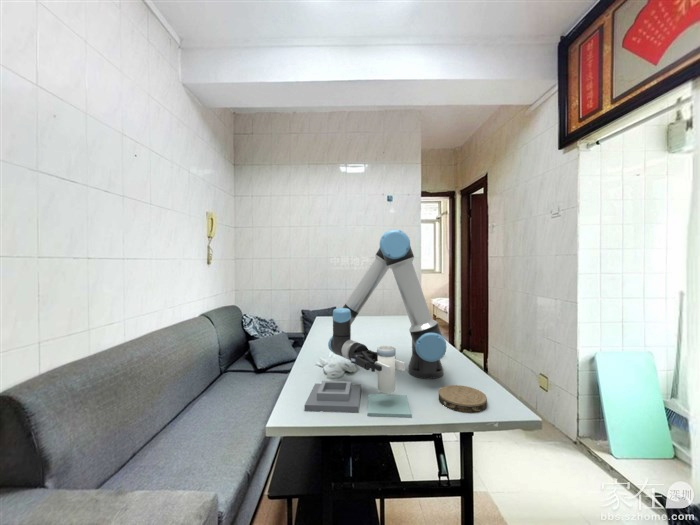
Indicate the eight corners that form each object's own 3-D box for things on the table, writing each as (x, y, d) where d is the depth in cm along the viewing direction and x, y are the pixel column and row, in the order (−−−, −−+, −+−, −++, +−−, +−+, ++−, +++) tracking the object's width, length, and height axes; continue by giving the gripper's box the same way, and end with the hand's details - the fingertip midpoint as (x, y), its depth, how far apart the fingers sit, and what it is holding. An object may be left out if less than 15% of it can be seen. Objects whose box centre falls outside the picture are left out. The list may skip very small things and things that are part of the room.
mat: (406, 397, 108) (406, 395, 108) (411, 417, 94) (411, 414, 94) (368, 396, 109) (368, 394, 109) (367, 416, 95) (367, 412, 95)
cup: (394, 386, 105) (394, 346, 105) (396, 393, 98) (396, 351, 99) (377, 385, 105) (377, 345, 105) (377, 393, 99) (377, 350, 99)
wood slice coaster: (495, 414, 96) (495, 404, 96) (446, 414, 97) (446, 404, 97) (475, 393, 112) (475, 385, 112) (433, 393, 113) (433, 385, 113)
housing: (361, 389, 116) (360, 378, 116) (358, 412, 98) (358, 398, 98) (315, 388, 117) (315, 377, 117) (304, 411, 99) (304, 397, 99)
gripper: (374, 357, 122) (416, 374, 103) (334, 366, 111) (374, 387, 92) (374, 338, 122) (416, 352, 103) (335, 346, 111) (374, 363, 92)
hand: (396, 369), depth 98 cm, fingers closed on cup, 6 cm apart
